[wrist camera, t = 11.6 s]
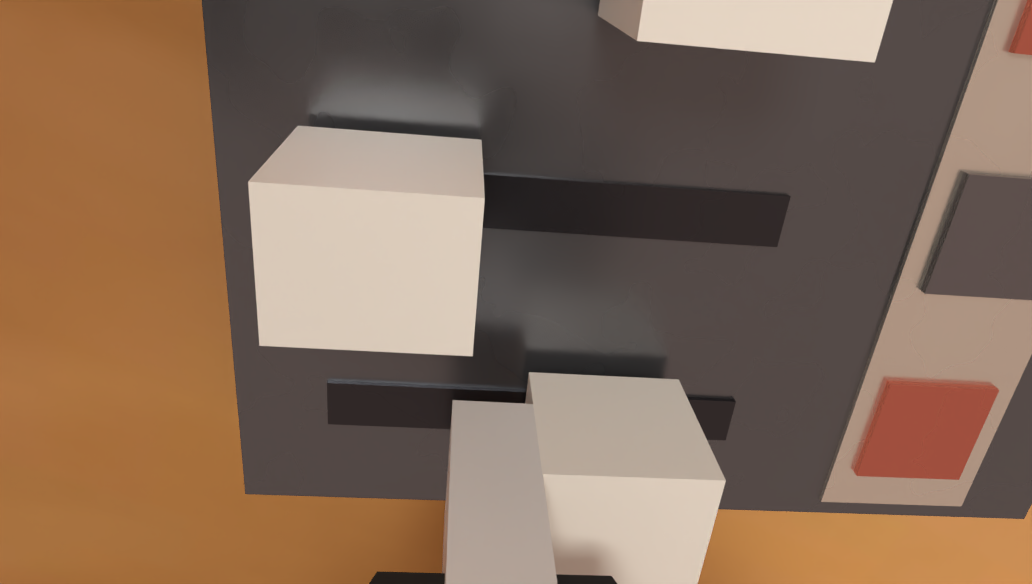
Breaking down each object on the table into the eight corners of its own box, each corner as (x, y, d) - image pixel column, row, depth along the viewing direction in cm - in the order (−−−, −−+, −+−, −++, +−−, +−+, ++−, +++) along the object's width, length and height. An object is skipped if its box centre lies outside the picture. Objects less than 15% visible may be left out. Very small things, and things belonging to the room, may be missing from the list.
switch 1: (297, 125, 12) (247, 182, 9) (481, 139, 12) (484, 197, 10) (302, 260, 13) (259, 346, 10) (471, 270, 13) (473, 357, 11)
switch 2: (528, 371, 14) (542, 474, 12) (678, 379, 15) (726, 480, 12) (517, 469, 15) (527, 584, 13) (657, 474, 16) (696, 587, 13)
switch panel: (228, -279, 12) (165, -333, 9) (1229, -154, 14) (1398, -174, 11) (273, 424, 18) (242, 502, 16) (960, 451, 20) (1031, 526, 17)
